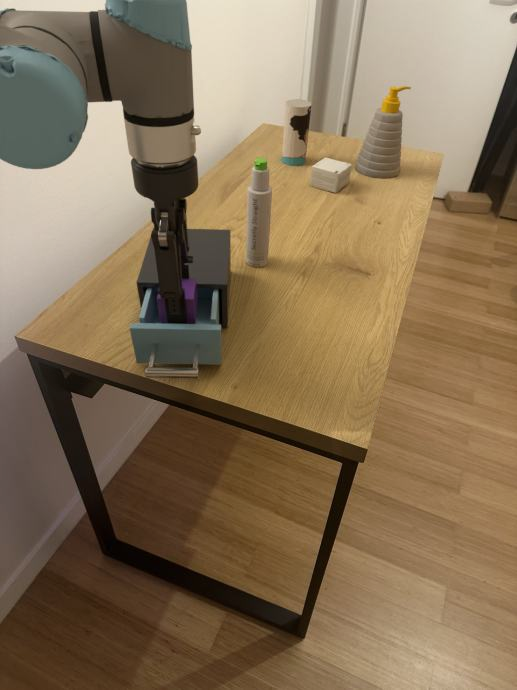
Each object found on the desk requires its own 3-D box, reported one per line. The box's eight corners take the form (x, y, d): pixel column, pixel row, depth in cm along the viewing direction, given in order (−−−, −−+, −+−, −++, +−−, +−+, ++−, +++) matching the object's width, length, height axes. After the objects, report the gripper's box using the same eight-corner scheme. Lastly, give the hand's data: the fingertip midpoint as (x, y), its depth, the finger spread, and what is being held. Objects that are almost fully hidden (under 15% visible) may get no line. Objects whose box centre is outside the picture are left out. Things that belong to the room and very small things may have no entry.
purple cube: (160, 326, 67) (156, 298, 63) (165, 304, 70) (161, 277, 67) (195, 326, 67) (193, 299, 63) (198, 305, 70) (196, 278, 67)
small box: (322, 175, 123) (325, 156, 120) (349, 183, 120) (352, 163, 117) (308, 185, 118) (311, 165, 115) (336, 194, 115) (339, 173, 112)
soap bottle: (409, 174, 126) (431, 92, 112) (372, 181, 122) (390, 96, 108) (381, 158, 134) (398, 79, 120) (345, 164, 130) (359, 83, 116)
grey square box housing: (227, 327, 76) (227, 284, 70) (144, 326, 76) (136, 282, 70) (230, 270, 89) (230, 229, 83) (158, 269, 88) (153, 227, 82)
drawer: (219, 396, 64) (218, 361, 60) (128, 395, 64) (120, 359, 59) (225, 300, 80) (224, 267, 75) (152, 299, 80) (147, 265, 75)
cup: (307, 165, 128) (314, 107, 118) (284, 166, 127) (288, 107, 117) (302, 156, 133) (308, 99, 123) (279, 156, 132) (283, 99, 122)
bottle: (241, 261, 91) (242, 160, 78) (255, 252, 94) (259, 153, 80) (258, 269, 89) (262, 167, 76) (272, 260, 92) (279, 160, 78)
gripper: (189, 191, 46) (201, 357, 62) (202, 129, 59) (209, 279, 75) (113, 189, 46) (144, 356, 62) (143, 127, 59) (163, 278, 75)
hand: (180, 313), depth 68 cm, fingers closed on purple cube, 5 cm apart
